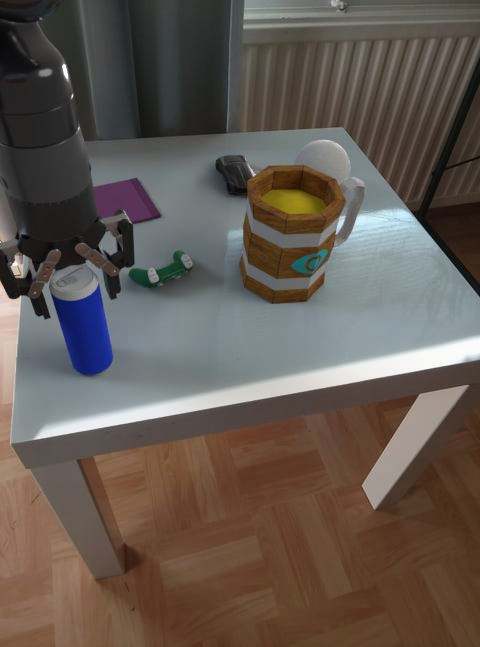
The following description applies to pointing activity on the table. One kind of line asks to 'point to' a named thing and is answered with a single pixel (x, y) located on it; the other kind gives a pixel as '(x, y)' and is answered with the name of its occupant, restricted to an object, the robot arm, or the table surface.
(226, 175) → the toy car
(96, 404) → the table surface
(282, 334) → the table surface
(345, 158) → the ball
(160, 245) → the table surface
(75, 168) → the robot arm
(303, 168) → the mug
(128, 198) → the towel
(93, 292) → the beverage can
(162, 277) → the gaming controller
